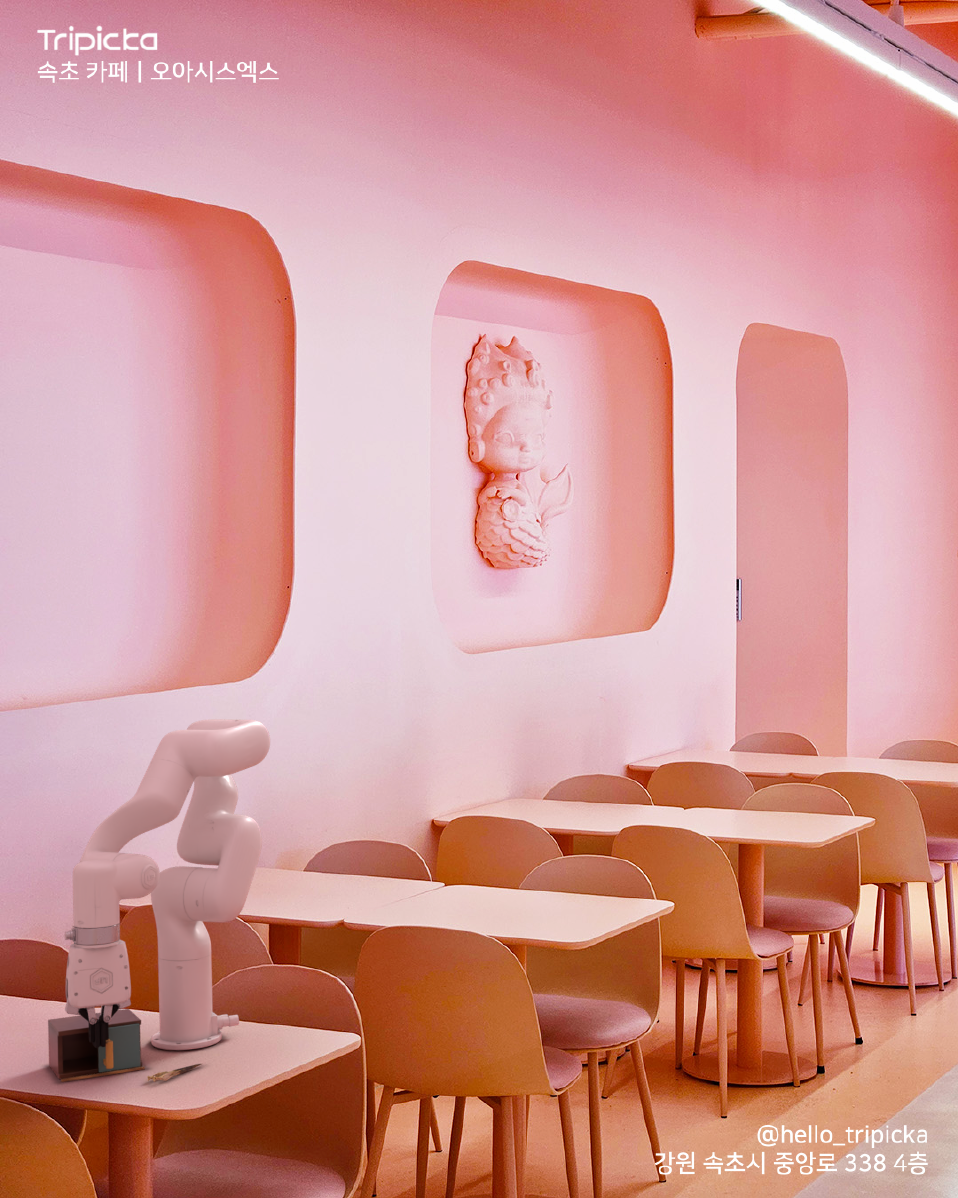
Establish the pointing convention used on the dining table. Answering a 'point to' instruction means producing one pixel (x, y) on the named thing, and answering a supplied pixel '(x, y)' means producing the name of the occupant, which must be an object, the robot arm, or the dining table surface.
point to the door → (120, 1049)
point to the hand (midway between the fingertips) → (98, 1045)
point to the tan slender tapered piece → (171, 1073)
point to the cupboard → (81, 1046)
